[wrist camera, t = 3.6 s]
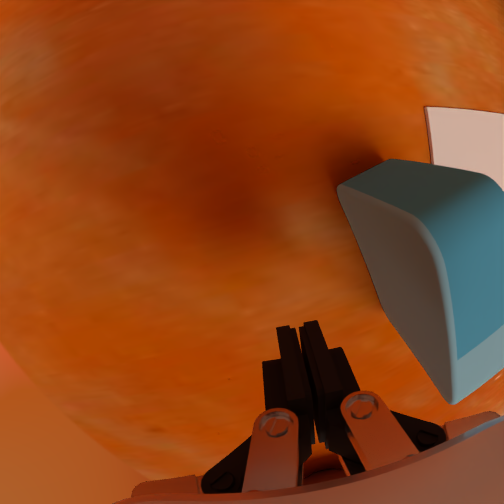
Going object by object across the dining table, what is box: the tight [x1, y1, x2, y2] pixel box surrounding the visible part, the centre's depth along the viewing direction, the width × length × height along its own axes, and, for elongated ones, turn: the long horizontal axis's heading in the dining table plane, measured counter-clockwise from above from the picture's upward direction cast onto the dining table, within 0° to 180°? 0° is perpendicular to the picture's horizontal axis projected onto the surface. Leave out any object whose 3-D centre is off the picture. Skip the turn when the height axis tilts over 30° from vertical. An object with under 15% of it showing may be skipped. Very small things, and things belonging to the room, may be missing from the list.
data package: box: [337, 159, 504, 405], centre depth 15 cm, size 12×4×12 cm, turn 29°
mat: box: [424, 107, 504, 191], centre depth 20 cm, size 20×14×1 cm
